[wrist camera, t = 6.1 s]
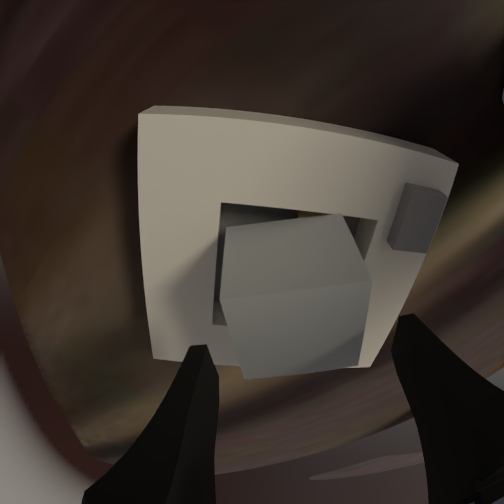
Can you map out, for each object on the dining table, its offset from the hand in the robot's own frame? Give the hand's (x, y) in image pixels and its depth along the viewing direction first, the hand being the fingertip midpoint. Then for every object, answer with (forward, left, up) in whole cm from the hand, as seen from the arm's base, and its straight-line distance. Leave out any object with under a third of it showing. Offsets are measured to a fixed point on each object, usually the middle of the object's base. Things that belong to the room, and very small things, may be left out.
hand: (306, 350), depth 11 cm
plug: (0, -1, -6) cm, 6 cm away
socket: (0, 0, -7) cm, 7 cm away
